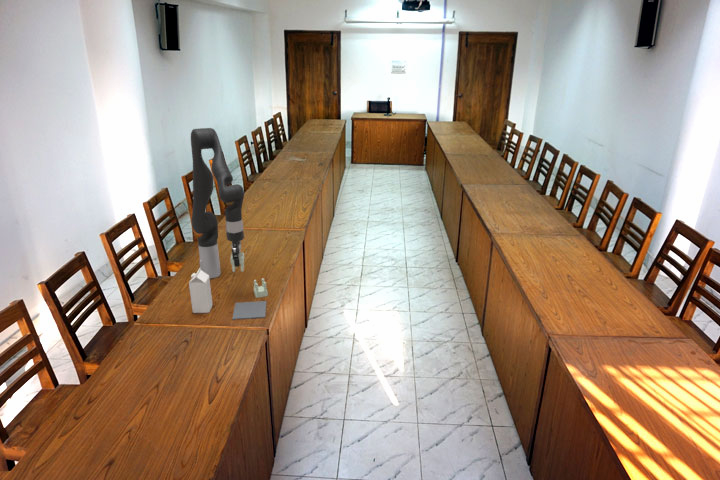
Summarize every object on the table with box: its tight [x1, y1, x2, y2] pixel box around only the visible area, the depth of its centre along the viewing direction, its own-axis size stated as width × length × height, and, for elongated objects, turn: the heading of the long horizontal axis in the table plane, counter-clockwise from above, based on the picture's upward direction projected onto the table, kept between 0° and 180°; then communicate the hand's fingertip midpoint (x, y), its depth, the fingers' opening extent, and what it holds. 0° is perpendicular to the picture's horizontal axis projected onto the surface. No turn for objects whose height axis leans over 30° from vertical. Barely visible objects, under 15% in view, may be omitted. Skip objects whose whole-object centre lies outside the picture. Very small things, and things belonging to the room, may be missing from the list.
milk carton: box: [188, 267, 213, 314], centre depth 224 cm, size 7×7×19 cm
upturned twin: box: [253, 278, 269, 299], centre depth 239 cm, size 6×6×7 cm
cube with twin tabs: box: [229, 252, 245, 273], centre depth 232 cm, size 6×6×7 cm
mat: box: [232, 300, 267, 321], centre depth 226 cm, size 14×14×1 cm
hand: (237, 263), depth 232 cm, fingers closed on cube with twin tabs, 5 cm apart
